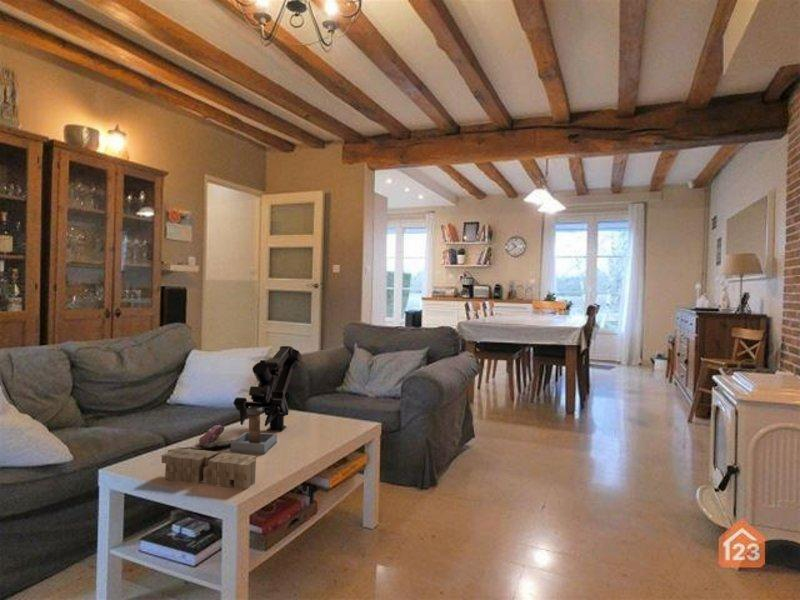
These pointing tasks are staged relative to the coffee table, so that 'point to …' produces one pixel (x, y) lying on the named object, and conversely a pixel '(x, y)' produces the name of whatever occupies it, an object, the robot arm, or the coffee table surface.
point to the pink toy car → (212, 434)
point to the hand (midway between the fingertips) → (253, 425)
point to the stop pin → (254, 424)
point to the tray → (253, 444)
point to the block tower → (210, 467)
